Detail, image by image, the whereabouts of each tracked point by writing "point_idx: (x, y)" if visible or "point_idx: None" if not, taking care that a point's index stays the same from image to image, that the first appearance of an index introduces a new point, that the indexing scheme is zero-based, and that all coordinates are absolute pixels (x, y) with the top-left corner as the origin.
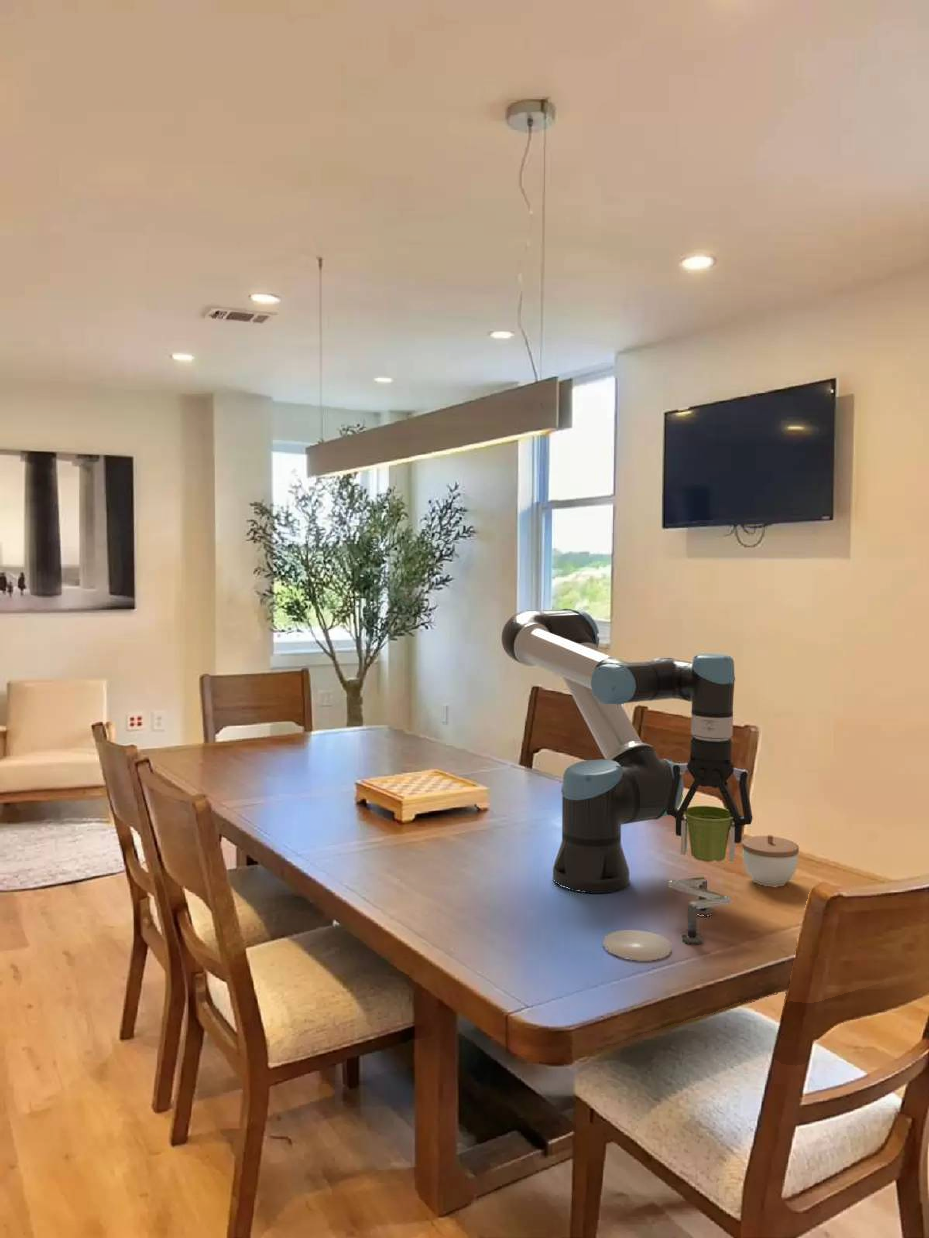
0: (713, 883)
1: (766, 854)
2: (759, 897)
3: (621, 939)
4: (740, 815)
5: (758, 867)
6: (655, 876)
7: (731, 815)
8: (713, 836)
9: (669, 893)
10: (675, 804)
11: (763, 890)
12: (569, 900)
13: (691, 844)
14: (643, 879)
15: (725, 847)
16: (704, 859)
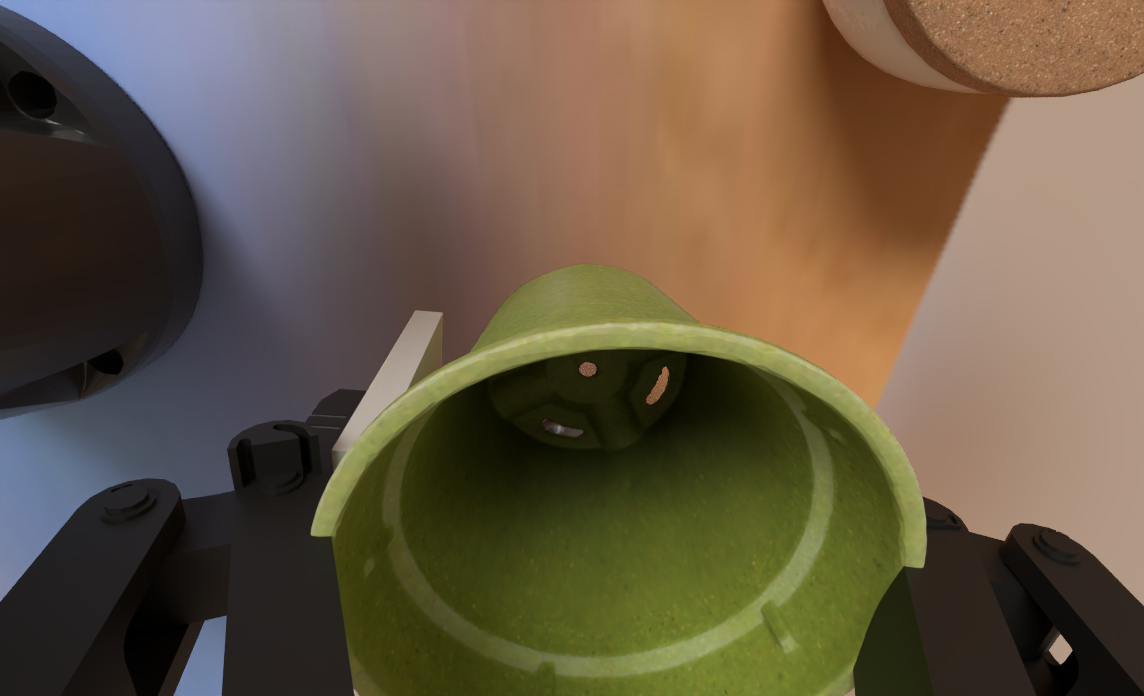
0: (603, 61)
1: (998, 94)
2: (805, 210)
3: (355, 692)
4: (977, 563)
5: (889, 71)
6: (284, 33)
7: (861, 681)
8: (636, 587)
9: (409, 277)
10: (145, 593)
11: (847, 99)
12: (60, 463)
13: (476, 455)
14: (239, 110)
15: (707, 442)
16: (567, 456)
